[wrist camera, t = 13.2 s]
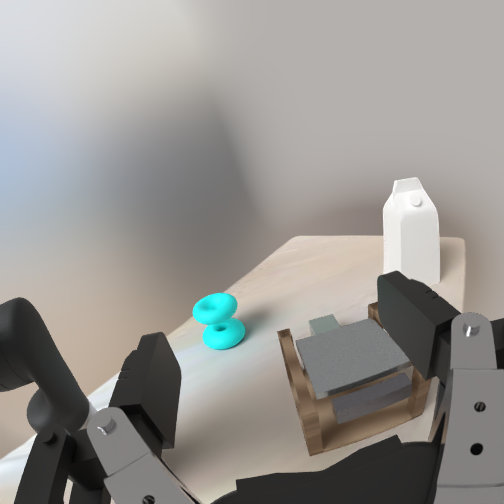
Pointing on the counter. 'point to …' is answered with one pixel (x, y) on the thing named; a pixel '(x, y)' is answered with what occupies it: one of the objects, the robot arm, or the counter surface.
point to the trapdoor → (355, 368)
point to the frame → (320, 411)
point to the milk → (411, 233)
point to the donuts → (219, 321)
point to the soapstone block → (323, 325)
